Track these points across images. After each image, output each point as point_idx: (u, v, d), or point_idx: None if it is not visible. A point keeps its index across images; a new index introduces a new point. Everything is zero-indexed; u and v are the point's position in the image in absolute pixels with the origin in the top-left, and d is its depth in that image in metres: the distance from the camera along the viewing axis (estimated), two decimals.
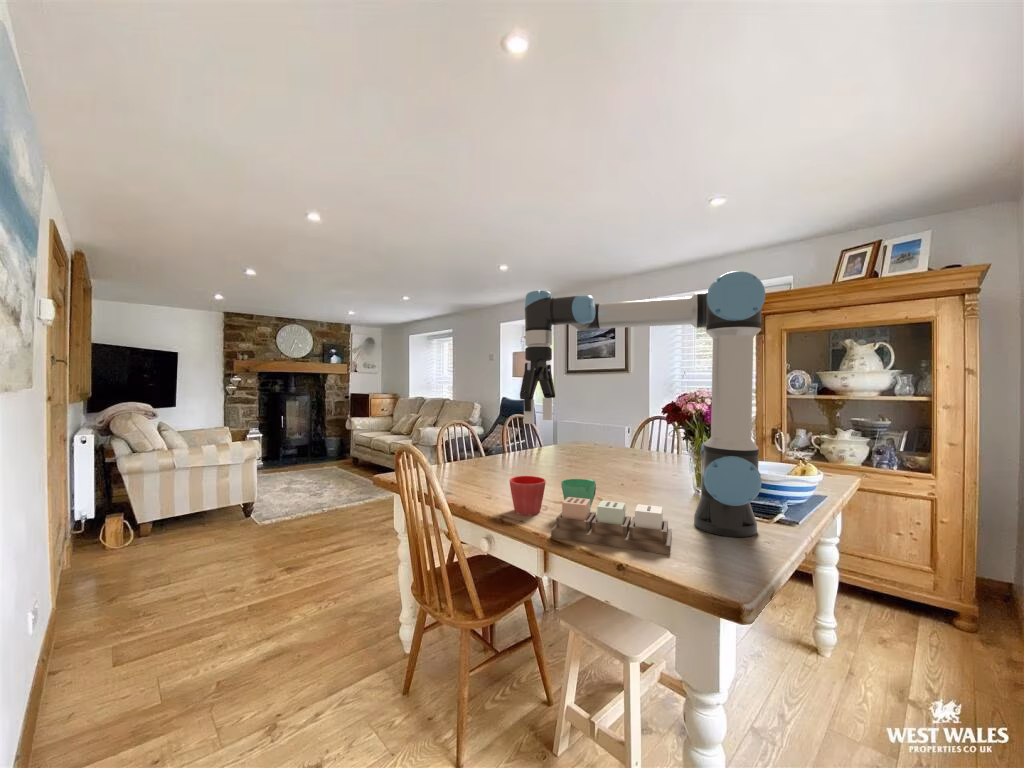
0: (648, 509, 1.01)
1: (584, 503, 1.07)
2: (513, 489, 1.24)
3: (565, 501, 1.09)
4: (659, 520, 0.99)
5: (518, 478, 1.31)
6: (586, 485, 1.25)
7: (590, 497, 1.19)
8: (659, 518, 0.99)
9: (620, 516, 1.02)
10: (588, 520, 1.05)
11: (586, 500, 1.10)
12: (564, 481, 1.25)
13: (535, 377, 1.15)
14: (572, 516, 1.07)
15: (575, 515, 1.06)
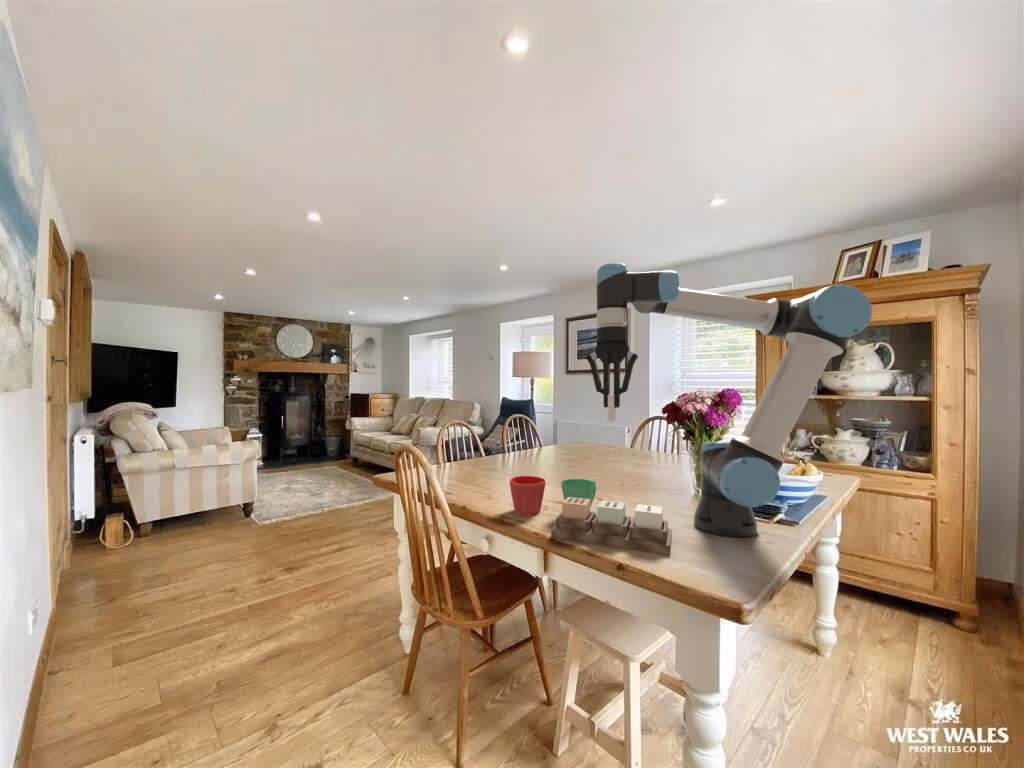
0: (648, 509, 1.01)
1: (584, 503, 1.07)
2: (513, 489, 1.24)
3: (565, 501, 1.09)
4: (659, 520, 0.99)
5: (518, 478, 1.31)
6: (586, 485, 1.25)
7: (590, 497, 1.19)
8: (659, 518, 0.99)
9: (620, 516, 1.02)
10: (588, 520, 1.05)
11: (586, 500, 1.10)
12: (564, 481, 1.25)
13: None
14: (572, 516, 1.07)
15: (575, 515, 1.06)
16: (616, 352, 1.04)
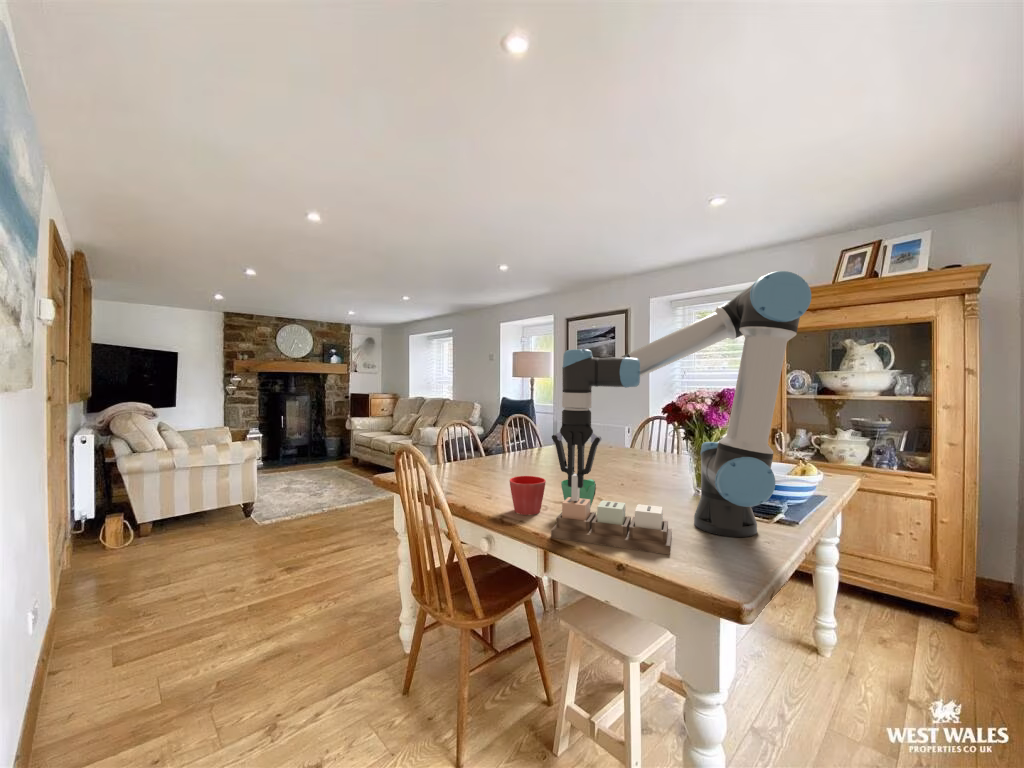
0: (648, 509, 1.01)
1: (584, 503, 1.07)
2: (513, 489, 1.24)
3: (565, 501, 1.09)
4: (659, 520, 0.99)
5: (518, 478, 1.31)
6: (586, 485, 1.25)
7: (590, 497, 1.19)
8: (659, 518, 0.99)
9: (620, 516, 1.02)
10: (588, 520, 1.05)
11: (586, 500, 1.10)
12: (564, 481, 1.25)
13: None
14: (572, 516, 1.07)
15: (575, 515, 1.06)
16: (580, 435, 1.07)
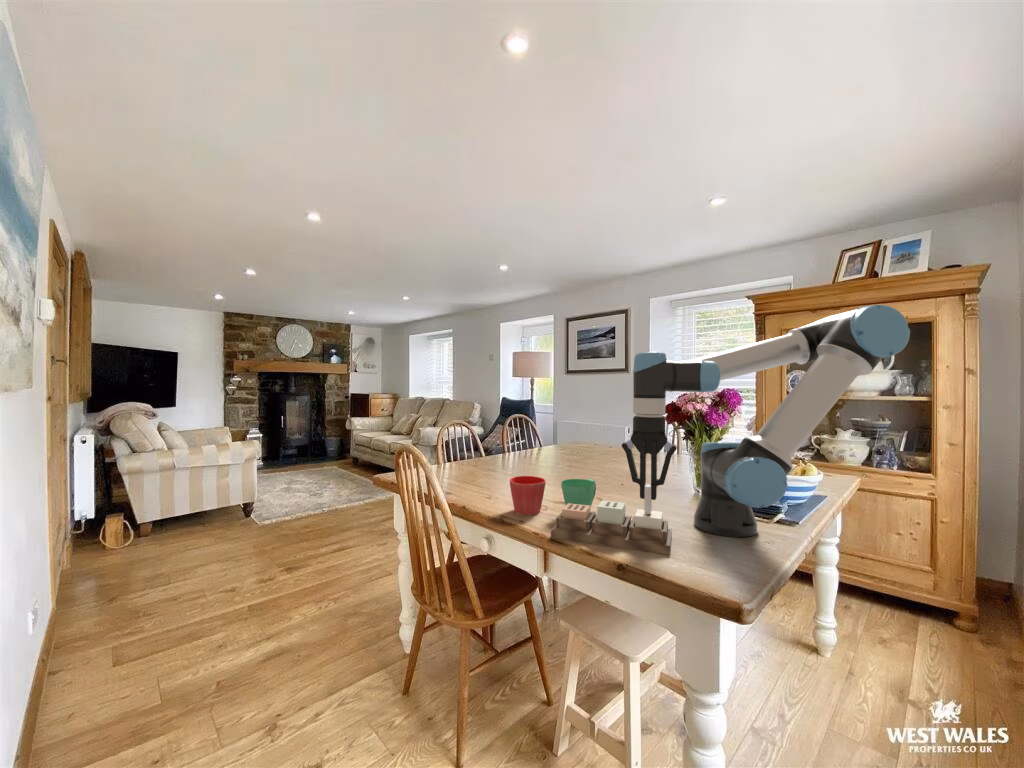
0: (648, 514, 1.01)
1: (584, 510, 1.07)
2: (513, 489, 1.24)
3: (565, 508, 1.09)
4: (659, 525, 0.99)
5: (518, 478, 1.31)
6: (586, 485, 1.25)
7: (590, 497, 1.19)
8: (659, 523, 0.99)
9: (620, 516, 1.02)
10: (588, 520, 1.05)
11: (586, 507, 1.10)
12: (564, 481, 1.25)
13: (640, 456, 1.03)
14: None
15: None
16: (654, 443, 1.00)
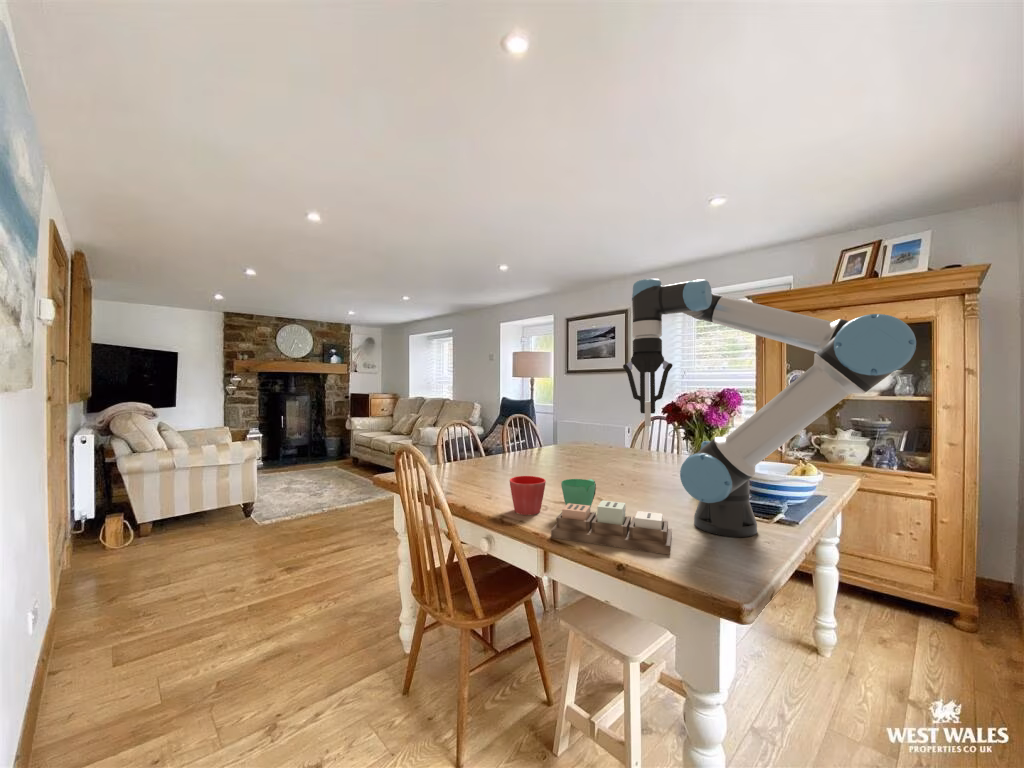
0: (648, 516, 1.01)
1: (584, 510, 1.07)
2: (513, 489, 1.24)
3: (565, 508, 1.09)
4: (659, 527, 0.99)
5: (518, 478, 1.31)
6: (586, 485, 1.25)
7: (590, 497, 1.19)
8: (659, 525, 0.99)
9: (620, 516, 1.02)
10: (588, 520, 1.05)
11: (586, 507, 1.10)
12: (564, 481, 1.25)
13: (640, 375, 1.13)
14: None
15: None
16: (653, 362, 1.11)
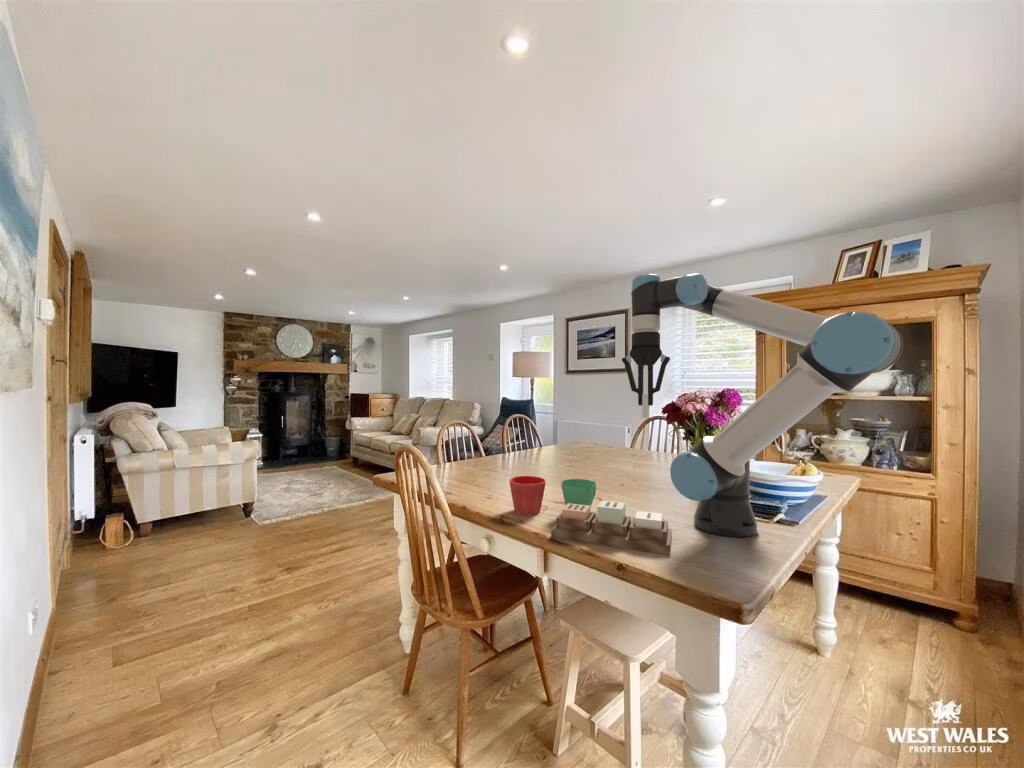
0: (648, 516, 1.01)
1: (584, 510, 1.07)
2: (513, 489, 1.24)
3: (565, 508, 1.09)
4: (659, 527, 0.99)
5: (518, 478, 1.31)
6: (586, 485, 1.25)
7: (590, 497, 1.19)
8: (659, 525, 0.99)
9: (620, 516, 1.02)
10: (588, 520, 1.05)
11: (586, 507, 1.10)
12: (564, 481, 1.25)
13: (638, 368, 1.16)
14: None
15: None
16: (650, 355, 1.14)
